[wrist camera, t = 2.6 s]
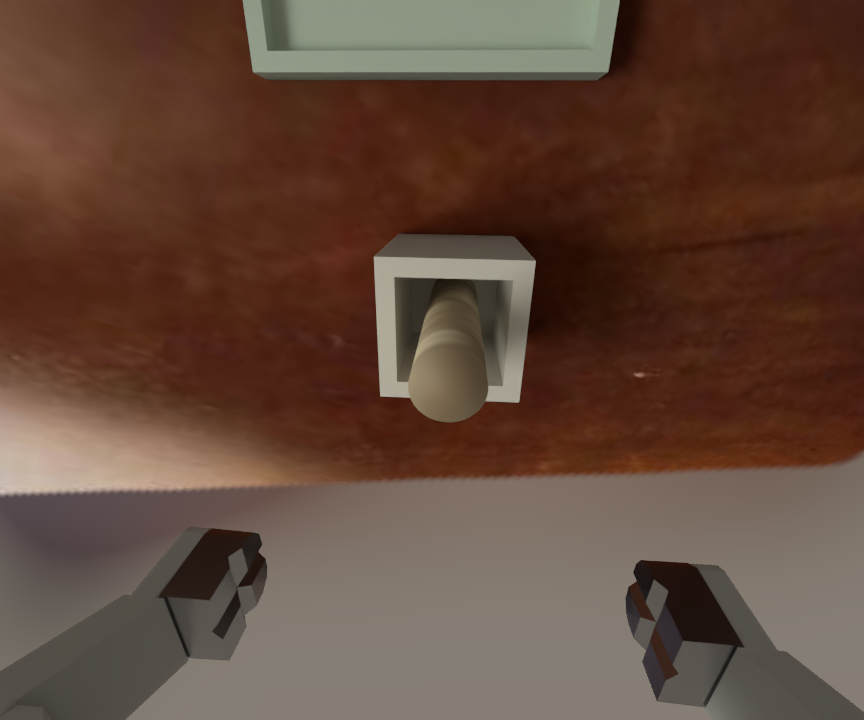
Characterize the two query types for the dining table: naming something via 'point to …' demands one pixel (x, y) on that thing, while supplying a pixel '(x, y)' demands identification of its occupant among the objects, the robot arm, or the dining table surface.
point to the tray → (431, 39)
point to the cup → (496, 295)
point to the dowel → (450, 355)
